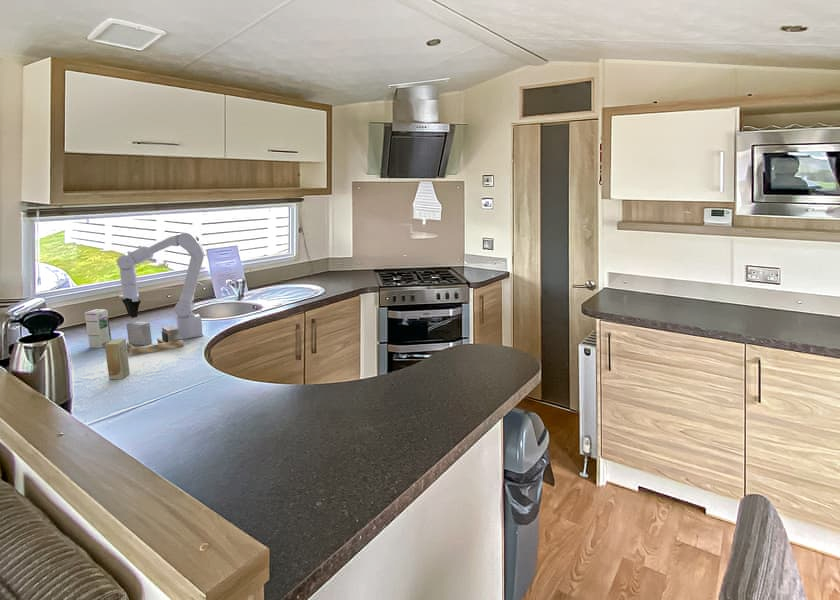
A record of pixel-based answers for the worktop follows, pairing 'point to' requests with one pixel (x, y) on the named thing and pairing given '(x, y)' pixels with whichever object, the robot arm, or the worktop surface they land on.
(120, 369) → the skincare box
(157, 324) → the worktop surface
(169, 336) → the wooden rack
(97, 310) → the syrup box
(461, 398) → the worktop surface
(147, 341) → the medicine box
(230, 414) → the worktop surface
